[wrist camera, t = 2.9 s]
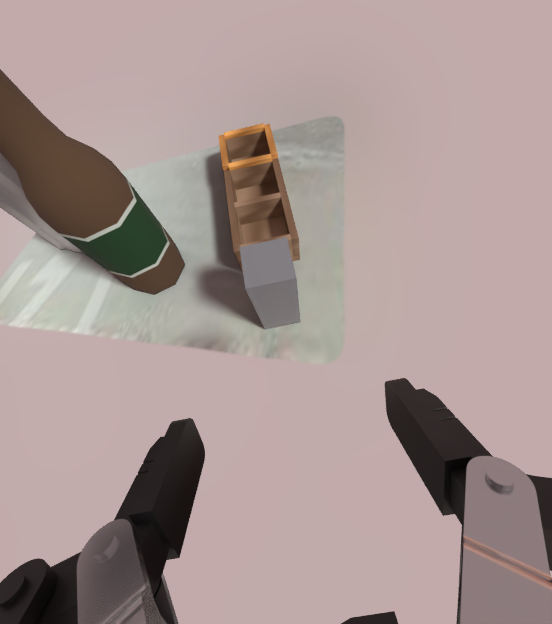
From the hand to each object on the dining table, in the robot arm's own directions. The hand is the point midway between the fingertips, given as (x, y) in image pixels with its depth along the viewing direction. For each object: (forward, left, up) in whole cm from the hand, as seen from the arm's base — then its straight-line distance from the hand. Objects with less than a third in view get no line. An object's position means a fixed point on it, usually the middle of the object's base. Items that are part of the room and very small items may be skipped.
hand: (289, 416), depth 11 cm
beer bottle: (-15, +21, -15) cm, 30 cm away
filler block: (0, +12, -15) cm, 19 cm away
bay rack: (0, +28, -15) cm, 32 cm away
